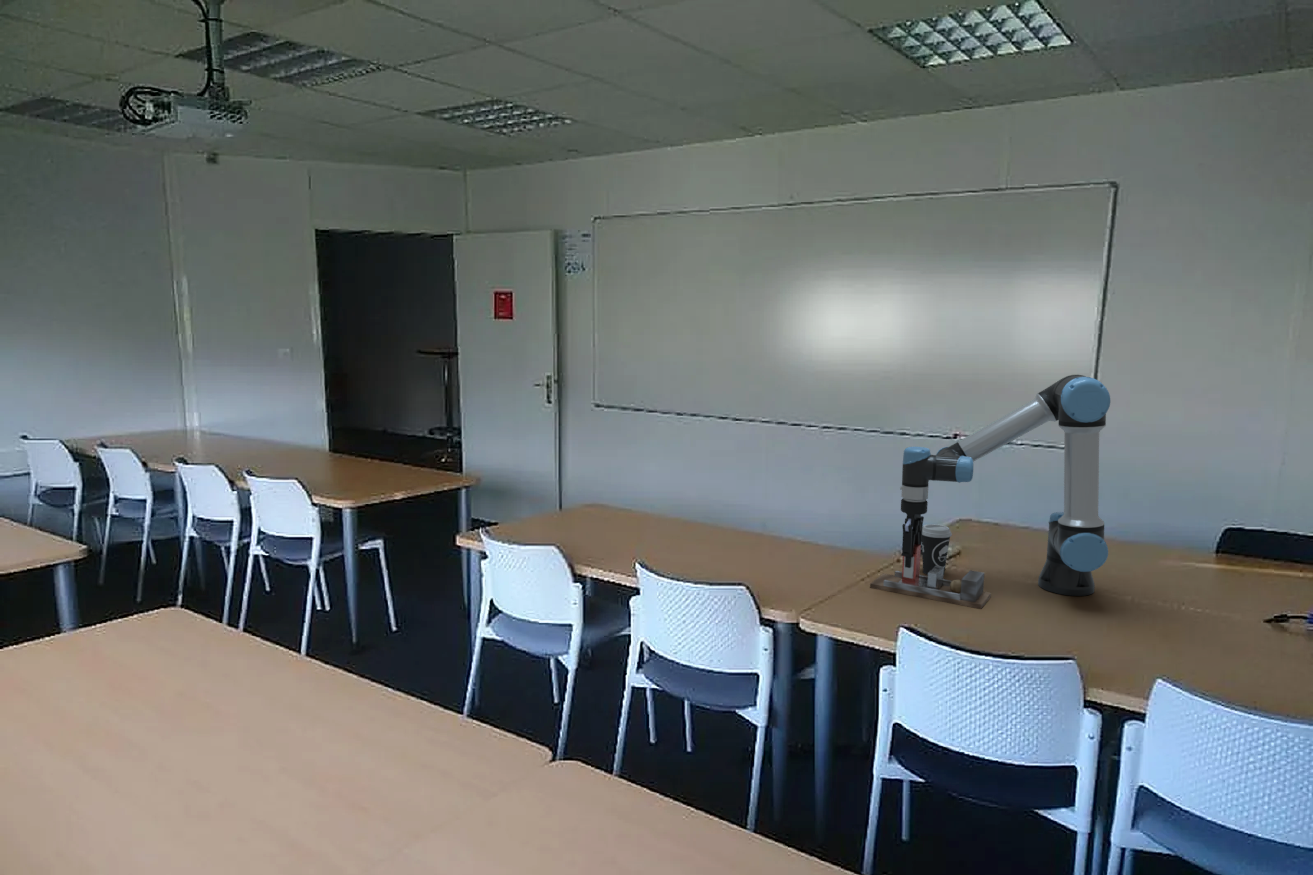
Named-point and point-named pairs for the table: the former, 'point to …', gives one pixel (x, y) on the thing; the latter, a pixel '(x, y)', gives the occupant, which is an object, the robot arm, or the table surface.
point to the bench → (968, 596)
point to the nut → (955, 586)
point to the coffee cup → (935, 546)
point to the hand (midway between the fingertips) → (910, 575)
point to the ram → (933, 575)
